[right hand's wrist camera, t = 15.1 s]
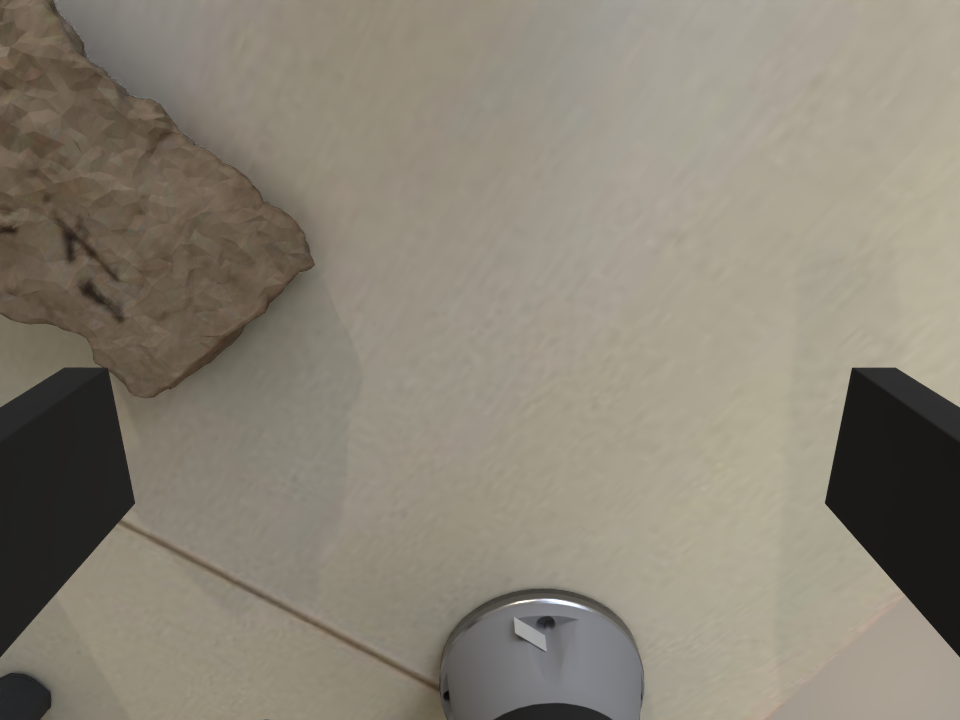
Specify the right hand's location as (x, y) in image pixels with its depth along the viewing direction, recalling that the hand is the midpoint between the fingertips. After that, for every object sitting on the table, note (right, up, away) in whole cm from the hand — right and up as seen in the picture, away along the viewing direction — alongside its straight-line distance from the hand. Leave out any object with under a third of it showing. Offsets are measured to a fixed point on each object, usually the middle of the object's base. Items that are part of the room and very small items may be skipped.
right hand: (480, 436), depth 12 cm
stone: (-21, +11, +28) cm, 37 cm away
